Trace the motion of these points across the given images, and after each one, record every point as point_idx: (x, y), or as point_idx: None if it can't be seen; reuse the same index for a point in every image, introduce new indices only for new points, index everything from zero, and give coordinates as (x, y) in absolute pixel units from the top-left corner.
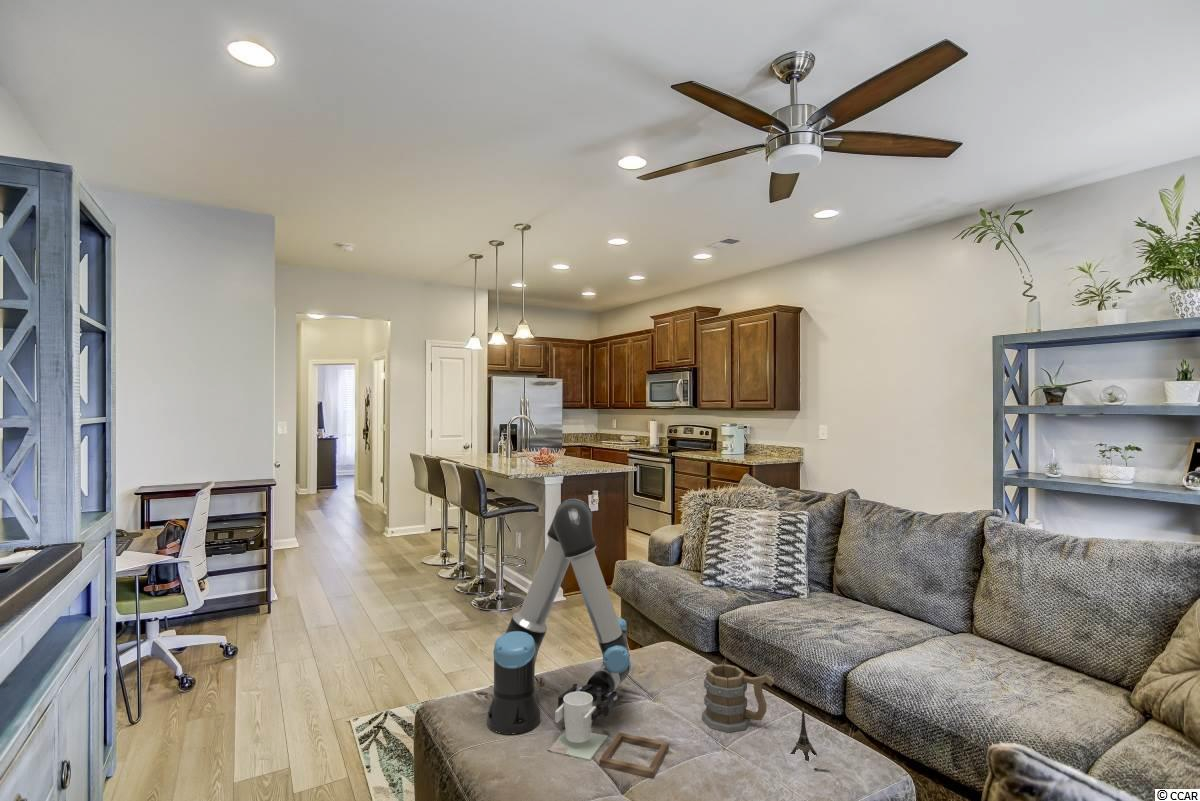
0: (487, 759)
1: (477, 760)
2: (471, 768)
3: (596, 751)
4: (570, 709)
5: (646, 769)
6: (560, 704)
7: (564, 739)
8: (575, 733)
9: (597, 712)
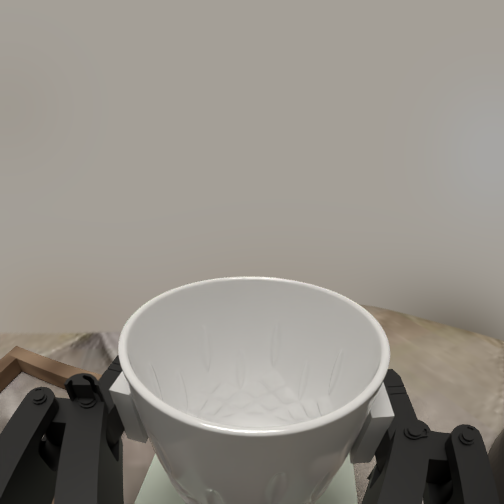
0: (446, 350)
1: (456, 342)
2: (440, 326)
3: (154, 459)
4: (274, 308)
5: (24, 352)
6: (404, 399)
7: (322, 498)
8: (243, 413)
9: (107, 370)
